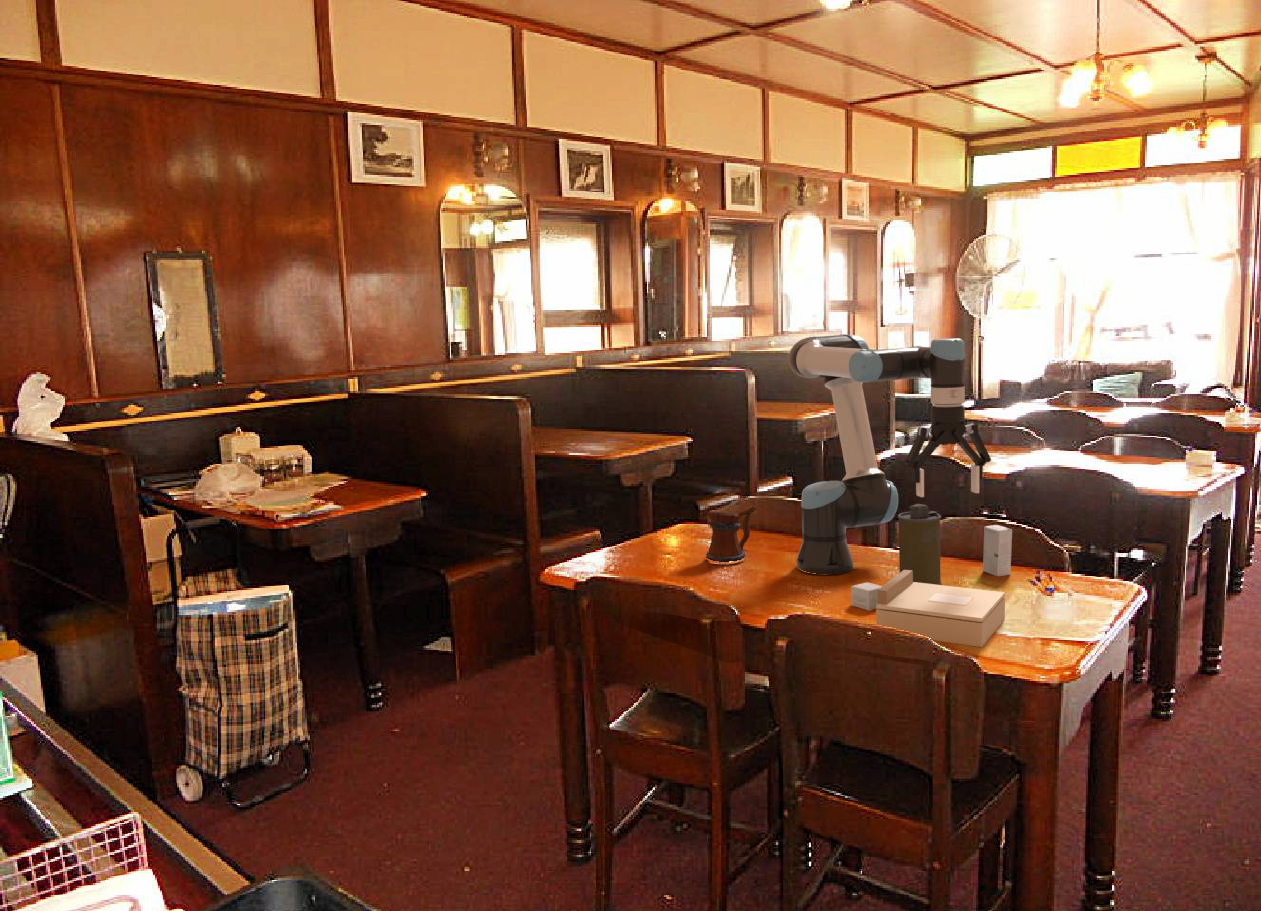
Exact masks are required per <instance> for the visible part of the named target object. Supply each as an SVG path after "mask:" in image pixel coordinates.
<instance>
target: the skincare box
mask: <svg viewBox="0 0 1261 911" xmlns="http://www.w3.org/2000/svg"><path fill="white" fill-rule="evenodd" d="M983 529H984V530H983V532H984V533H983V557H982V558H983V559H982V561H983V562H982V571H983V572H985V573H987V574H990V575H992V576H995V577H1005V576H1010V575H1011V571H1012V570H1011V567H1012V566H1011V565H1012V564H1011V563H1012V546H1013V545H1012V541H1013V540H1012V539H1013V529H1012V528H1008V527H1005V526H1002V525H998V524H994V525H992V524H991V525H987V526H984V528H983Z"/></svg>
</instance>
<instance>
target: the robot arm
mask: <svg viewBox="0 0 1261 911" xmlns="http://www.w3.org/2000/svg"><path fill="white" fill-rule="evenodd" d="M788 364H789V367H790V370H791V371H792V372H793V373H794V374H796V376H798V377H802V378H805V379H823V383H824V388H827V389H828V390H830V391H831V397H832V402H833V408H834V413H835V414H834V415H835V417H836V419H835V420H836V423H837V430H838V434H839V440H840V445H841V450H842V451H841V452H842V457H843V463H844V467H845V469H844V470H845V472H846V473H845V475H844V477H843V478H842V480H829V481H828V480H827V481H826V480H823V481H818V482H814V483H812V484H809V485H807V486H805V488H803V490H802V492H801V501H800V507H801V528H802V529H801V530H802V531H801V532H802V534H801V535H802V542H801V545H800V548H799V552H798V555H797V557H796V558H797V559H796V568H797V567H798V568H799V569H801V570H803V571H806V572H810V573H816V574H827V575H826V576H834V574H837V575H841V574H842V573H843V574H847V573H850V572H851V571H853V570H854V559H853V557H852V554H851V550H850V548H849V547H850V546H849V544H848V542H847V529H849V528H859V527H868V526H877V525H880V524H885V523H888V522H891V520H893V518H894V517H895V516H896V512H897V511H898V506H899V492H898V490H897V487H896V486H895V484H894V482H892V481H890V480H887V479H886V473H885V472H883V471H882V470H881V469H879V467H878V463H877V457H876V452H875V451H876V450H875V446H874V440H873V436H872V431H871V430H872V429H871V426H870V420H869V414H868V410H867V409H868V408H867V404H866V399H865V394H864V389H863V383H873V382H885V381H898V380H899V381H900V380H910V379H911V380H913V379H930V403H931V404H932V406H931V407H930V427H925V426H918V427H917V430H916V432H917V434H916V437H915V440H914V442H913V443H912V445H911V448H910V449H909V452H908V454H907V456H906V459H905V461H904V466H906V467H908V468H911V469H912V482H913V483H914V484H915V494H916V496H917V497H920V498H924V497H925V470H924V469H923V468H922V467H923V466H924V464H925V463H926V462H927V461H928V459H929V458H930V457H931V456H932V454H933V453H934V452H935V451H936V449H937V448H938V447H940V445H941V446H948V445H953V446H954V445H958V446H959V447H960V448H961V449H962V451H964V453H965V454H966V455H967V456H968V457H969V459H971V461H972V462H973V464H970V492H971V493H974V494H980V479H983V477H984V476H983V475H984V474H983V471H984V469H983V468H984V466H985V465H986V463H991V461H992V458H991V456H990V454H989V452H988V450H987V448H986V446H985V444H984V441H983V439H982V437H981V436H980V432H979V427H978V426H979V425H978V424H976V423H971V422H970V423H968V424H965V419H966V418H965V415H966V413H965V412H966V411H965V409H966V407H965V405H963V404H964V403H965V401H966V400H965V398H966V397H965V396H966V395H965V391H966V390H965V388H966V386H965V382H966V381H965V380H966V379H965V377H966V372H965V371H966V352H965V341H964V340H963V339H962V338H936V339H932V341H931V342H930V346H921V345H916V346H908V347H901V348H900V347H899V348H898V347H897V348H886V349H883V348H882V349H870V347H869V344H868V343H867V341H865V339H864V338H862V337H861V336H859V335H856V334H846V333H845V334H836V335H823V336H821V335H820V336H809V337H805V338H802V339H800V340H798V341H797V342H796V343H795V344H794V345H793V346H792V347H791V349H790V350H789V353H788ZM966 432H967V434H969V437H970V439H971V441H972V444H973V445H974V447H975V449H976V451H977V452H976V451H975V450H974V448H972V446H971V445H970V444H969V443H968V441H967V439H965V437H964V434H965V433H966ZM929 434H930V435H931V436H932V437H931V438H930V440H928V443H927V445H926V446H925V447H924V449H922V447H923V445H924V444H925V442H926V438H927V437H928V436H929ZM921 450H922V451H921ZM852 569H853V570H852ZM849 571H850V572H849ZM846 572H847V573H846ZM832 574H833V575H832Z"/></svg>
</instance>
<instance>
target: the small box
mask: <svg viewBox="0 0 1261 911" xmlns="http://www.w3.org/2000/svg"><path fill="white" fill-rule="evenodd" d="M882 586H883V585H882ZM882 586H881V585H878V584H875V583H872V582H871V583H870V582H863V583H859V584H855V585H852V586H851V606H852V607H857V608H860V609H861V610H866V611H868V612H869V611H872V610H873V611H874V610H876V609H877V608H876V604H878V591H877V590H878V589H879V588H881V587H882Z"/></svg>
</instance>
